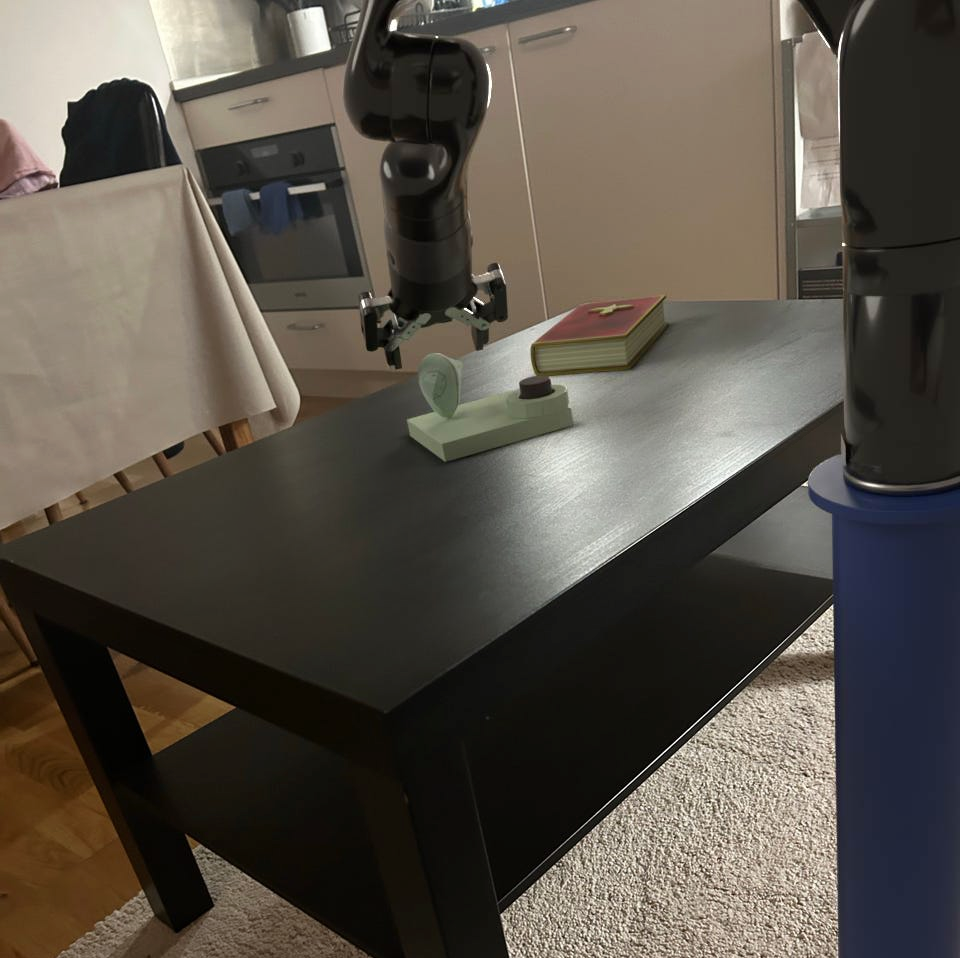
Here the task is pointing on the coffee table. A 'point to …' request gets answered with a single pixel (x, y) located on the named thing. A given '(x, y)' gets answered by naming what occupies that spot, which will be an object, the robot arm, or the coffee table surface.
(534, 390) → the button
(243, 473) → the coffee table surface
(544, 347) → the hardcover book
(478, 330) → the robot arm
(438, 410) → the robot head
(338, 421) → the coffee table surface
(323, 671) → the coffee table surface
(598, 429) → the coffee table surface
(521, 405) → the pale green flat block
